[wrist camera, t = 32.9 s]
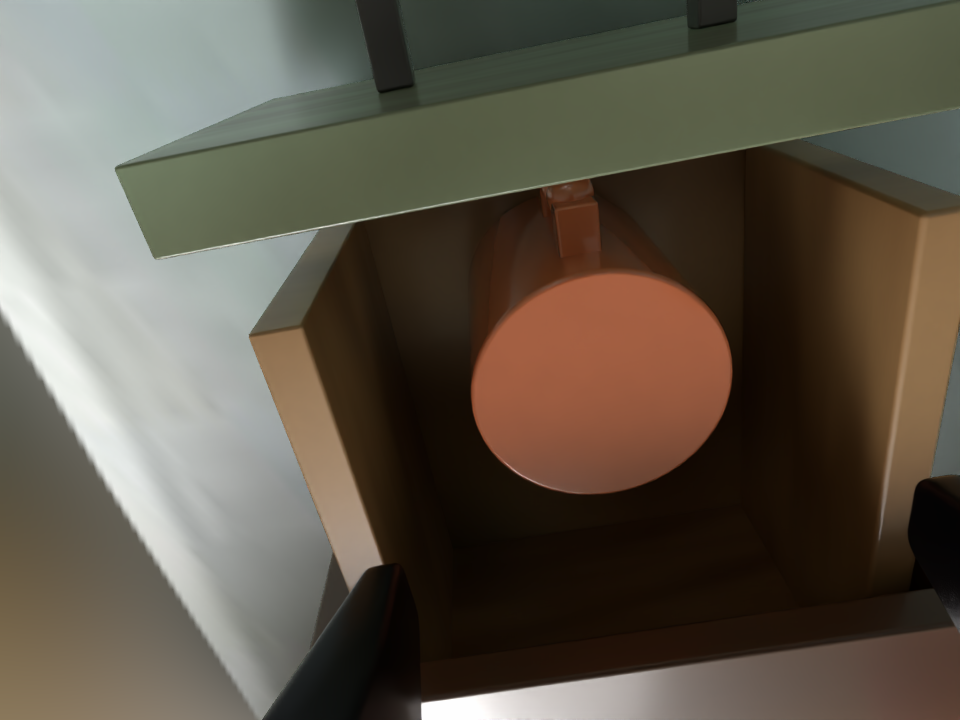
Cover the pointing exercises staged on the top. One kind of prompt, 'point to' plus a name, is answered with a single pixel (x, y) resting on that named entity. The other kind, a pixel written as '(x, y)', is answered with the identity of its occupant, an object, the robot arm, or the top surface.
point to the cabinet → (715, 667)
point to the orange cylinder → (589, 347)
